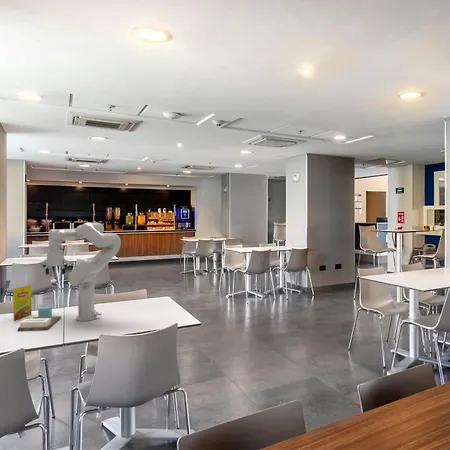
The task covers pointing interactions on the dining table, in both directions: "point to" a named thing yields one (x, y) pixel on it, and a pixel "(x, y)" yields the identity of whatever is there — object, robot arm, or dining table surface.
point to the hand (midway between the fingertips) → (55, 274)
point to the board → (53, 321)
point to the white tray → (35, 322)
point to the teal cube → (45, 312)
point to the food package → (22, 302)
